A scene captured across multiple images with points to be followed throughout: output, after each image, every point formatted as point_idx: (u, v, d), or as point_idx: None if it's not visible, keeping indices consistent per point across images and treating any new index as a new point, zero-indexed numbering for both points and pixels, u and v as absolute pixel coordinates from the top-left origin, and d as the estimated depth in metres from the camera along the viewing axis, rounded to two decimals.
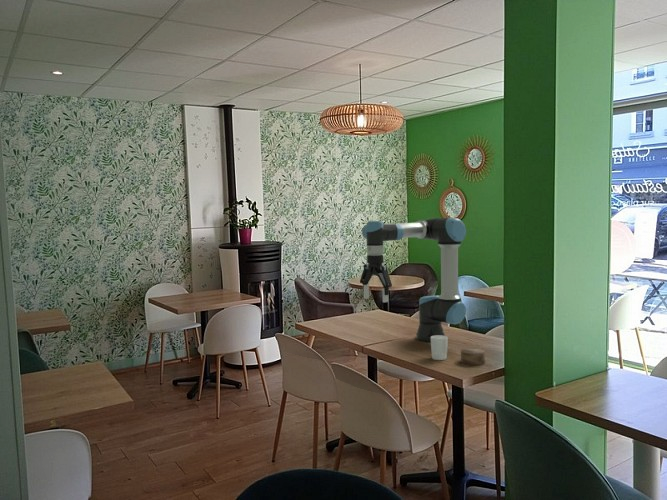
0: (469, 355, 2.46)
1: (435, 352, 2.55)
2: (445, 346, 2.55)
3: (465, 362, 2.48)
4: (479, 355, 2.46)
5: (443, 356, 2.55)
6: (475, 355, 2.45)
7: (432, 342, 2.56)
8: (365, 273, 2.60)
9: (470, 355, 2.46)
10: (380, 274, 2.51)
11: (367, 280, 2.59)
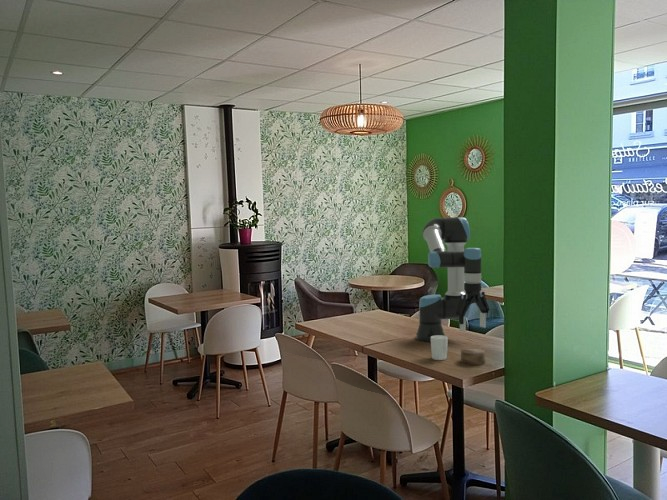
0: (469, 355, 2.46)
1: (435, 352, 2.55)
2: (445, 346, 2.55)
3: (465, 362, 2.48)
4: (479, 355, 2.46)
5: (443, 356, 2.55)
6: (475, 355, 2.45)
7: (432, 342, 2.56)
8: (482, 301, 2.53)
9: (470, 355, 2.46)
10: (466, 302, 2.47)
11: (480, 308, 2.52)
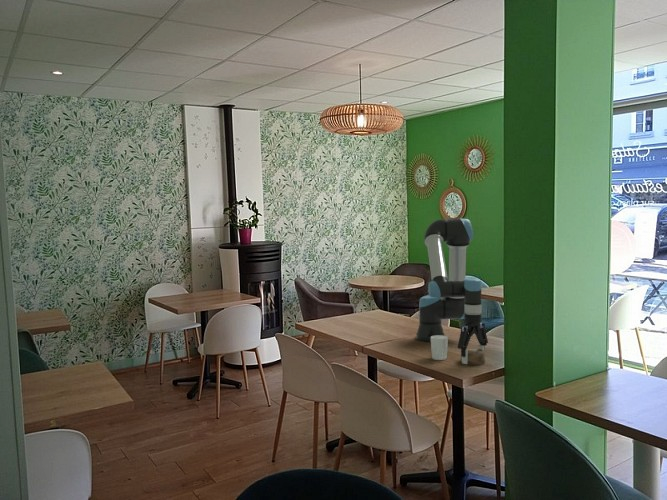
0: (469, 355, 2.46)
1: (435, 352, 2.55)
2: (445, 346, 2.55)
3: None
4: (479, 355, 2.46)
5: (443, 356, 2.55)
6: (475, 355, 2.45)
7: (432, 342, 2.56)
8: (481, 332, 2.54)
9: (470, 355, 2.46)
10: (466, 334, 2.48)
11: (479, 340, 2.53)
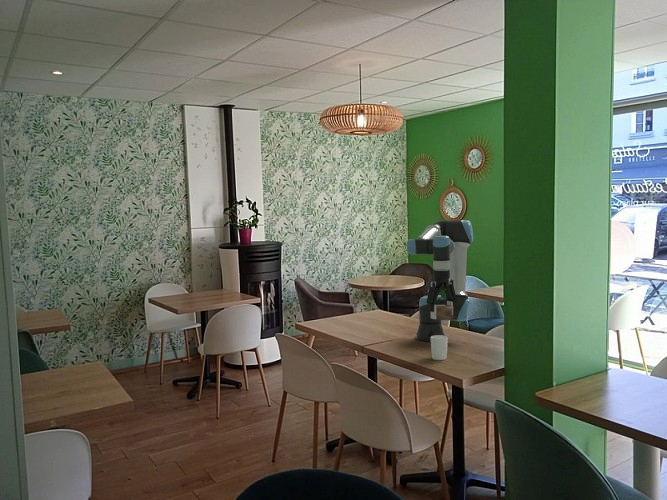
0: (438, 310, 2.52)
1: (435, 352, 2.55)
2: (445, 346, 2.55)
3: None
4: (447, 310, 2.51)
5: (443, 356, 2.55)
6: (443, 309, 2.51)
7: (432, 342, 2.56)
8: (450, 289, 2.59)
9: (439, 310, 2.51)
10: (435, 290, 2.53)
11: (448, 296, 2.59)
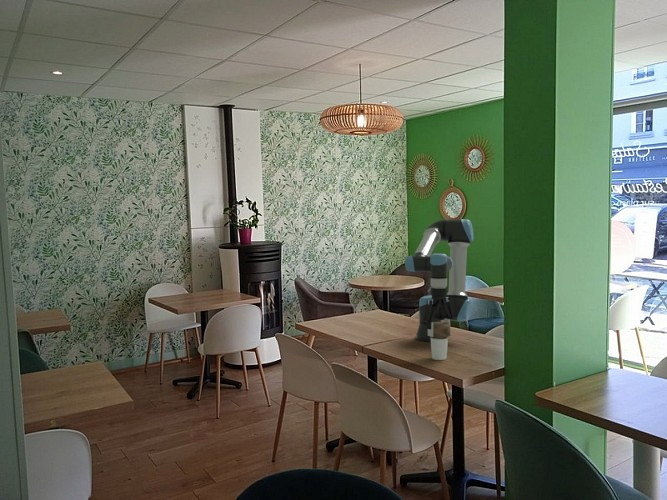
0: (434, 327, 2.53)
1: (435, 352, 2.55)
2: (445, 346, 2.55)
3: None
4: (444, 327, 2.52)
5: (443, 356, 2.55)
6: (440, 327, 2.52)
7: (432, 342, 2.56)
8: (447, 306, 2.60)
9: (435, 327, 2.52)
10: (432, 307, 2.55)
11: (445, 313, 2.60)
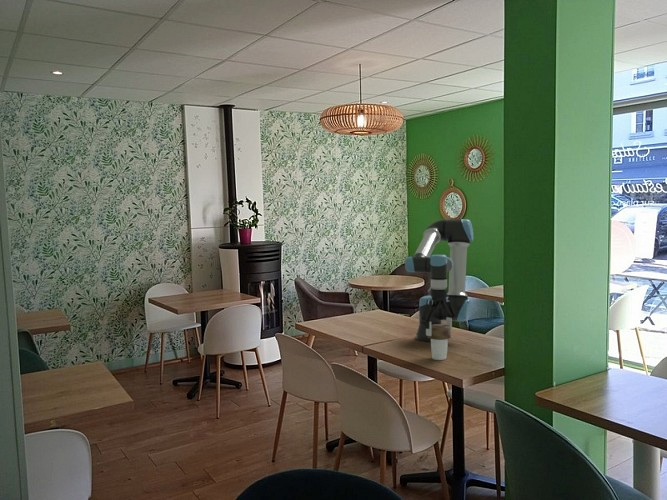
0: (435, 329, 2.53)
1: (435, 352, 2.55)
2: (445, 346, 2.55)
3: (431, 336, 2.54)
4: (444, 329, 2.52)
5: (443, 356, 2.55)
6: (440, 329, 2.52)
7: (432, 342, 2.56)
8: (448, 306, 2.61)
9: (436, 329, 2.53)
10: (432, 308, 2.54)
11: (447, 313, 2.60)
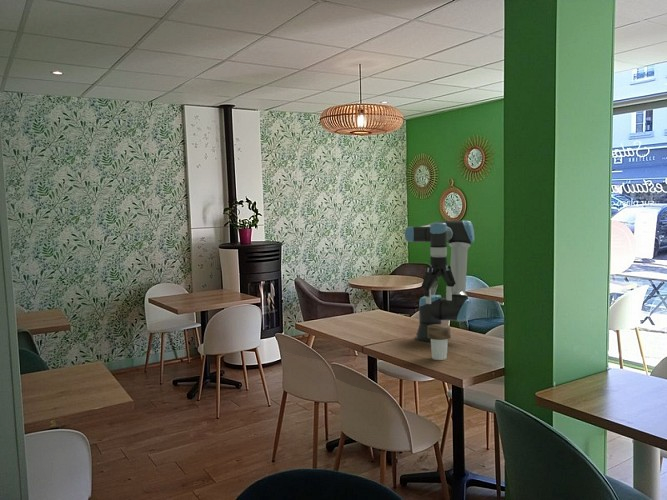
0: (435, 330, 2.53)
1: (435, 352, 2.55)
2: (445, 346, 2.55)
3: (431, 337, 2.54)
4: (444, 330, 2.52)
5: (443, 356, 2.55)
6: (440, 329, 2.52)
7: (432, 342, 2.56)
8: (448, 274, 2.60)
9: (435, 330, 2.53)
10: (431, 276, 2.53)
11: (446, 282, 2.59)
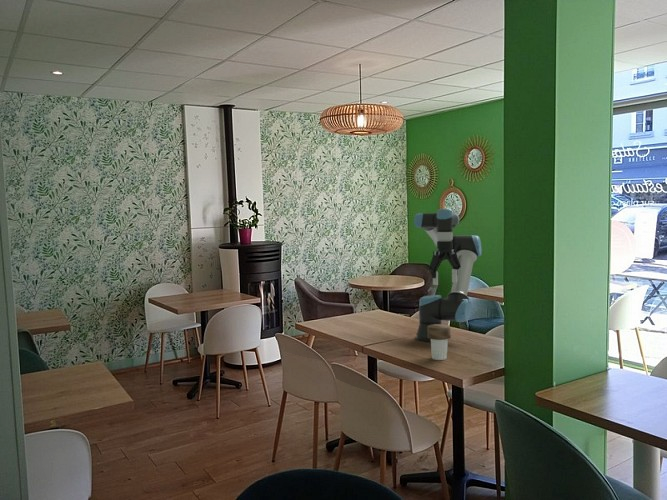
0: (435, 330, 2.53)
1: (435, 352, 2.55)
2: (445, 346, 2.55)
3: (431, 337, 2.54)
4: (444, 330, 2.52)
5: (443, 356, 2.55)
6: (440, 330, 2.52)
7: (432, 342, 2.56)
8: (453, 258, 2.76)
9: (435, 330, 2.53)
10: (438, 259, 2.70)
11: (452, 265, 2.75)
